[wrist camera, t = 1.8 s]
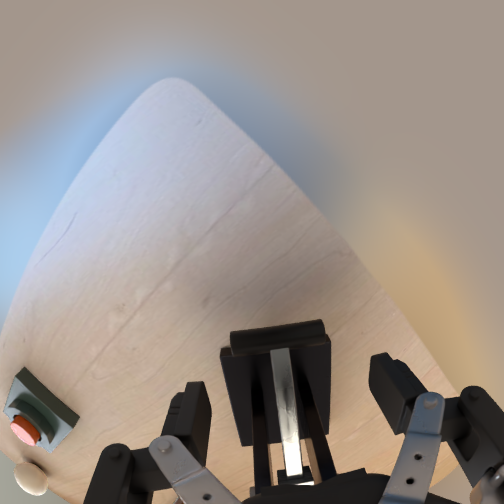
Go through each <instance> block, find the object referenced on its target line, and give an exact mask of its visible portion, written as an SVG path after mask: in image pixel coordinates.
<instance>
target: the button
mask: <svg viewBox="0 0 504 504" xmlns="http://www.w3.org/2000/svg"><path fill="white" fill-rule="evenodd" d="M10 425H11V428H12V430H13V431H14V433H15V434H16V435H17V436H18V437H19V438H20V439H21V440H22V441H23V442H25V443H26V444H28V445H30V446H35V445H36V443H37V442H38V440H39V439H40V437H41V435H40V433H39V432H38V431H37V429H36V428H35V427H34V426H33V425H32V424H31V423H30V422H29V421H28V420H26V419H25V418H23V417H22V416H20V415H17V416H16V417H15V418H14V420H13V421H12V422H11V424H10Z"/></svg>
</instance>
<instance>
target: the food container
mask: <svg viewBox="0 0 504 504" xmlns="http://www.w3.org/2000/svg"><path fill="white" fill-rule="evenodd" d="M173 504H184V503H183V501H182V500H181V499H180V497H179V496H178V498H177V499H176V500H175V502H174V503H173Z"/></svg>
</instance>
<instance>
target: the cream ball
mask: <svg viewBox="0 0 504 504" xmlns="http://www.w3.org/2000/svg"><path fill="white" fill-rule="evenodd" d="M14 475H15V478H16V481H17V482H18V484H19V485H20V486H21V487H22V488H23V489H24V490H25V491H26V492H28V493H30V494H33V495H42V494H44V493H45V492H46V490H47V488H48V479H47V477H46V475H45V474H44V472H43V471H42V470H41V469H40V468H39V467H37V466H36V465H34V464H32V463H28V462H24V463H20V464H17V465H16V466H15V469H14Z"/></svg>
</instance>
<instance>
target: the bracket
mask: <svg viewBox="0 0 504 504" xmlns="http://www.w3.org/2000/svg"><path fill="white" fill-rule="evenodd" d="M289 353H290V360H291V368H292V376H293V384H294V392H295V401H296V409H297V418H298V427H299V436H300V440H301V439H304V440H305V444H306V448H307V453H308V457H309V462H310V466H311V471H312V475H313V479H314V484H315V485H316V484H318V483H321V482H323V481H326V480H328V479H330V478H332V477H335V476H337V475H339V474H337V473H336V469H335V466H334V463H333V459H332V456H331V453H330V449H329V446H328V443H327V439H326V436H325V435H327V434H329V419H330V394H331V340H330V338H329V337H328V335H327V334H326V341H325V344H322V345H316V346H310V347H304V348H298V349H292V350H289ZM220 360H221V365H222V369H223V373H224V378H225V382H226V386H227V390H228V395H229V399H230V403H231V407H232V411H233V415H234V419H235V423H236V427H237V430H238V434H239V438H240V442H241V445H242V447H243V446H253V457H254V481H255V487H250V497H252V496H254V495H257V494H260V493H261V487H267V486H274V482H273V472H272V462H271V452H270V444H273V443H281V442H282V441H281V433H280V425H279V417H278V409H277V401H276V394H275V386H274V378H273V370H272V363H271V355H270V353H264V354H256V355H247V356H238V357H233V355H232V351H231V348H222V349H221V351H220Z"/></svg>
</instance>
